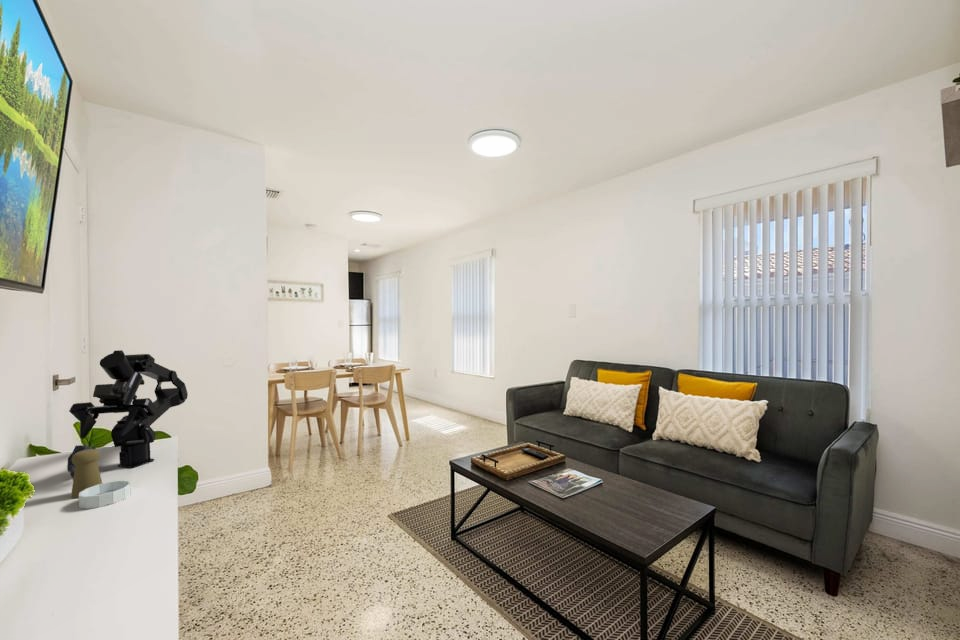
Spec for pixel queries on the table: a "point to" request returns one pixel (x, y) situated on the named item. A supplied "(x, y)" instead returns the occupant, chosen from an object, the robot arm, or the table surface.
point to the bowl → (104, 494)
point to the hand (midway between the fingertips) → (102, 436)
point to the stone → (77, 448)
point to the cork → (85, 471)
